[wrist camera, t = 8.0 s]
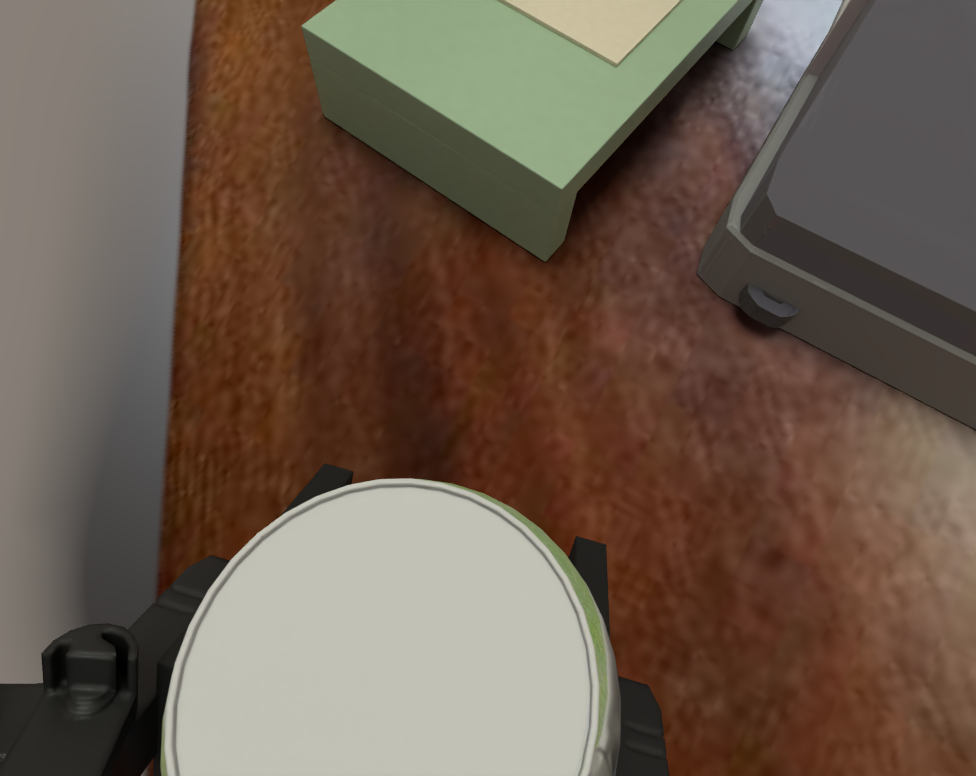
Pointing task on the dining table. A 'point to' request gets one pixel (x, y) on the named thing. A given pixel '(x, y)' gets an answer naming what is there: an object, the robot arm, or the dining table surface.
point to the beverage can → (395, 647)
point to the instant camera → (869, 203)
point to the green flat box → (509, 91)
